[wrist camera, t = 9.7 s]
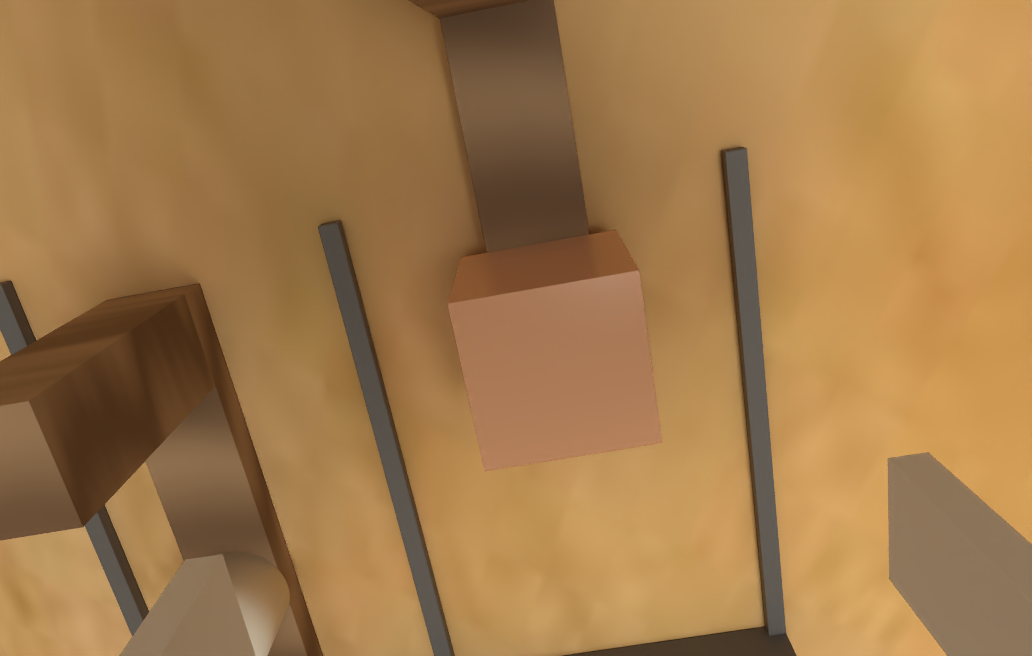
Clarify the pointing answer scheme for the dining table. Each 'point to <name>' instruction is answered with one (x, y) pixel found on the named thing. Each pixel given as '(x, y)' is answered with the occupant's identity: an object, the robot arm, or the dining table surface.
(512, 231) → the brown l-shaped block
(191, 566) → the robot arm
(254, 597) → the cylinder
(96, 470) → the brown l-shaped bracket
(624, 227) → the dining table surface
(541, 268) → the cube
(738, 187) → the bar
